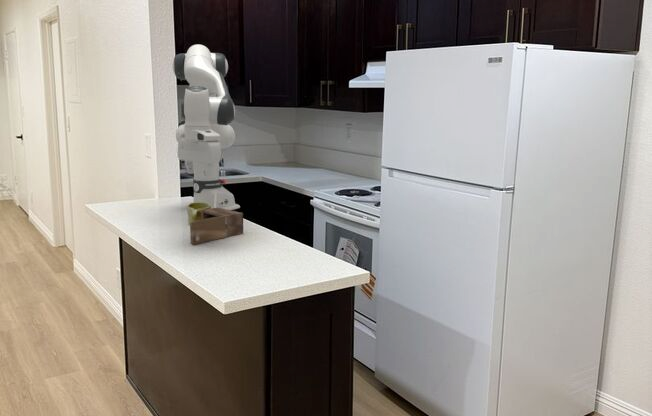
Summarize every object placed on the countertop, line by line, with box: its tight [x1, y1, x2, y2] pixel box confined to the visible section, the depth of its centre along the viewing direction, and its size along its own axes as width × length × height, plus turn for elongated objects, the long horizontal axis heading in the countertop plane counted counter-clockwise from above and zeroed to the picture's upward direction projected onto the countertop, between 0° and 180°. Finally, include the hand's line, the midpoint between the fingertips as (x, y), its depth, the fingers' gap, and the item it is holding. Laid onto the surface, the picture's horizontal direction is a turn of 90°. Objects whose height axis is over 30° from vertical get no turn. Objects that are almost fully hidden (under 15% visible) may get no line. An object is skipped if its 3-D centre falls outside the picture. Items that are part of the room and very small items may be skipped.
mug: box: [186, 202, 211, 226], centre depth 237 cm, size 12×10×10 cm
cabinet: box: [202, 208, 244, 238], centre depth 226 cm, size 8×15×8 cm, turn 49°
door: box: [189, 216, 227, 245], centre depth 212 cm, size 2×16×8 cm, turn 139°
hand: (198, 174), depth 204 cm, fingers open, 8 cm apart
